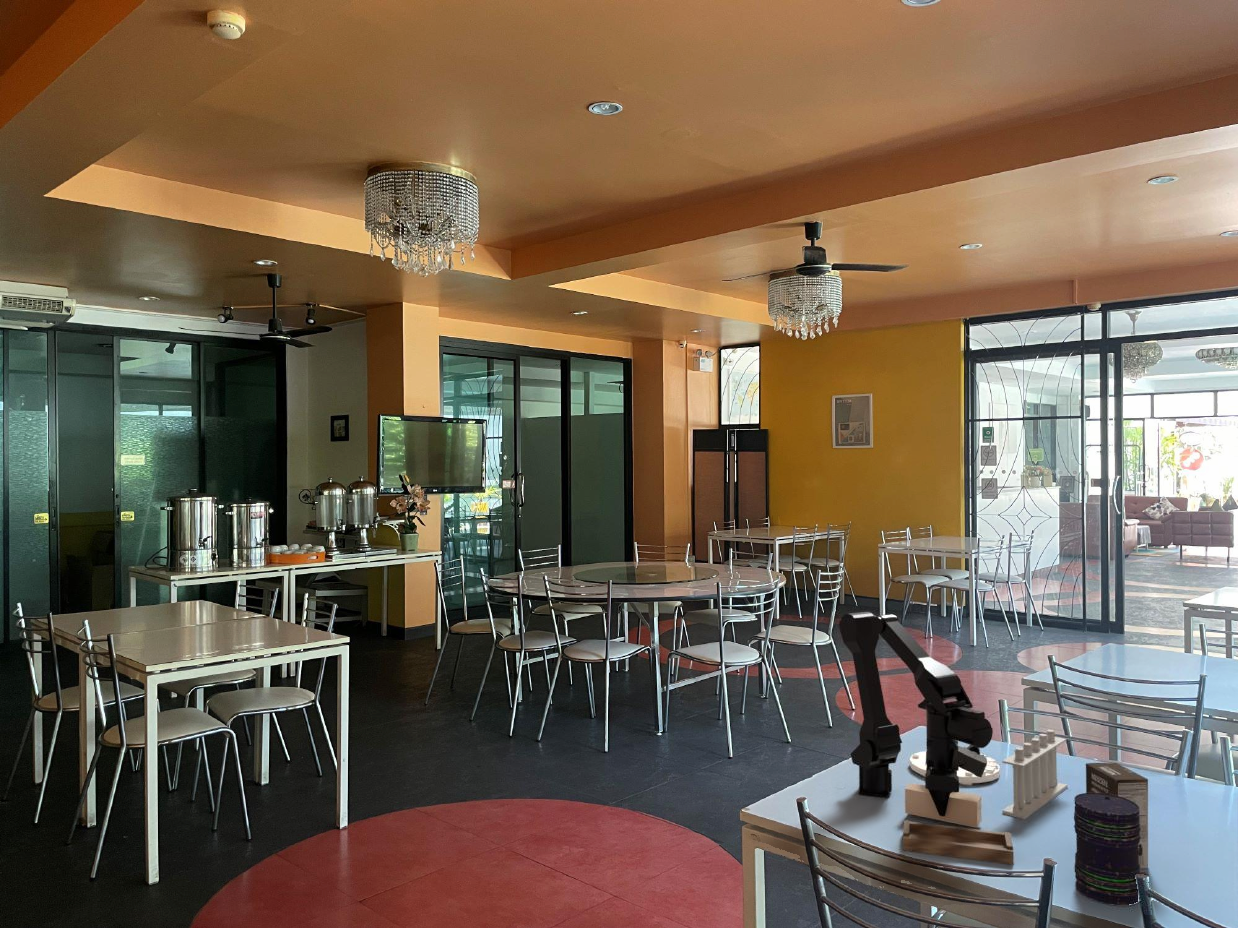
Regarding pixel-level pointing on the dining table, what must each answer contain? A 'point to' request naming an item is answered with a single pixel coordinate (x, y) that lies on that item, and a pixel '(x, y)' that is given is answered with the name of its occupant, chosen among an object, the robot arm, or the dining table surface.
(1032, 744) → the test tube rack
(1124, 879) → the storage jar
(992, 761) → the embossed medallion
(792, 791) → the dining table surface
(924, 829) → the cradle
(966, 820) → the clay bar
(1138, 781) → the coffee box
